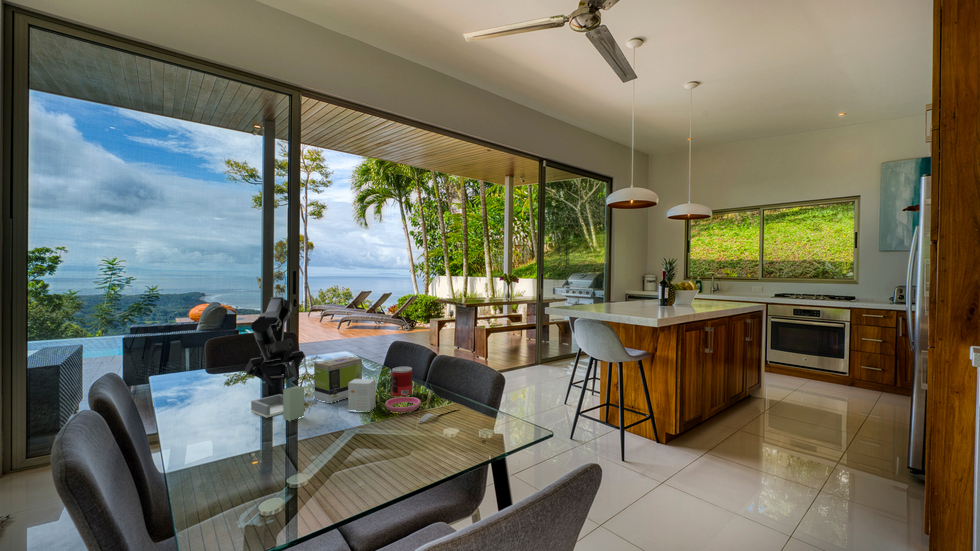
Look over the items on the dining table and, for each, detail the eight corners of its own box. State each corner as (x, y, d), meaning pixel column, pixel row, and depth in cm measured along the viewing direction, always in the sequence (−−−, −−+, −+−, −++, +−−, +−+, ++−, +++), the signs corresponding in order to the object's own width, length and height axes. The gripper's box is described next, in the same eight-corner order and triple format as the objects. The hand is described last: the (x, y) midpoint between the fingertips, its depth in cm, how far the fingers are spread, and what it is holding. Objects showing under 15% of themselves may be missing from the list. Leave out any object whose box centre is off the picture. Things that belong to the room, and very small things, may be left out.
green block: (283, 419, 142) (283, 389, 142) (297, 414, 146) (297, 385, 146) (289, 421, 140) (289, 391, 140) (304, 417, 144) (304, 387, 144)
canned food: (415, 394, 171) (415, 367, 171) (405, 400, 163) (405, 371, 163) (398, 392, 173) (399, 365, 173) (388, 398, 166) (388, 370, 166)
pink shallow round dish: (401, 418, 144) (401, 409, 144) (377, 411, 151) (377, 402, 151) (427, 409, 154) (427, 400, 154) (404, 402, 161) (404, 394, 161)
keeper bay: (251, 411, 149) (251, 400, 149) (280, 404, 157) (280, 393, 157) (266, 417, 143) (266, 406, 143) (295, 409, 152) (295, 398, 152)
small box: (375, 408, 154) (375, 379, 154) (369, 413, 148) (370, 383, 148) (354, 407, 155) (354, 378, 155) (347, 412, 149) (347, 382, 149)
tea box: (347, 390, 175) (347, 355, 175) (362, 395, 169) (362, 358, 169) (313, 399, 163) (313, 361, 163) (329, 405, 157) (329, 365, 157)
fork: (462, 416, 154) (463, 408, 154) (420, 426, 138) (420, 417, 138) (457, 414, 156) (457, 407, 156) (414, 424, 139) (414, 415, 140)
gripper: (249, 334, 141) (266, 373, 135) (302, 328, 156) (319, 362, 150) (238, 355, 145) (254, 393, 139) (290, 347, 161) (307, 381, 154)
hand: (285, 381), depth 146 cm, fingers open, 9 cm apart
